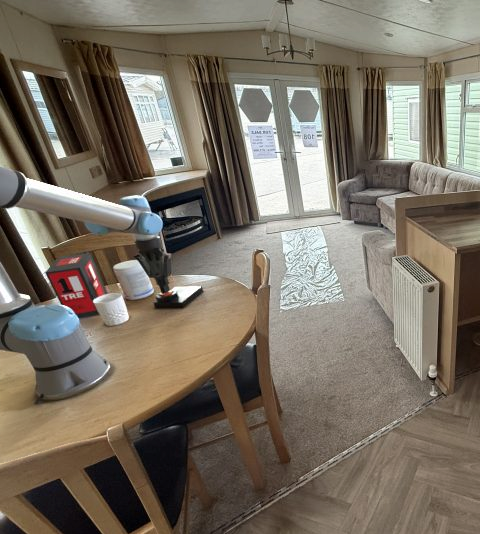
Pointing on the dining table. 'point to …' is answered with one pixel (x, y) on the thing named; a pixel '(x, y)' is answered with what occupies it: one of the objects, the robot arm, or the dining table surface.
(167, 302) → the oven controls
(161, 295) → the oven button
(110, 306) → the white cup
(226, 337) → the dining table surface
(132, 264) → the supplement tub
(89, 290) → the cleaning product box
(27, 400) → the dining table surface
